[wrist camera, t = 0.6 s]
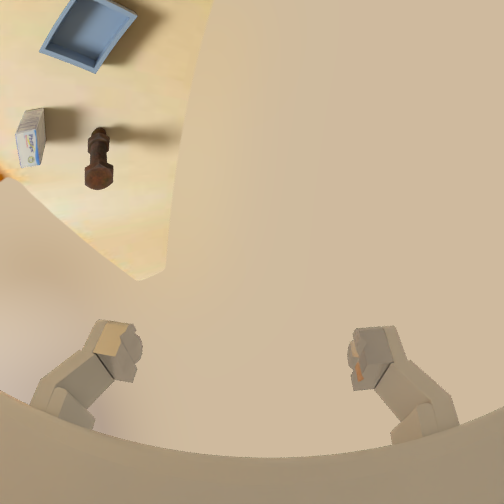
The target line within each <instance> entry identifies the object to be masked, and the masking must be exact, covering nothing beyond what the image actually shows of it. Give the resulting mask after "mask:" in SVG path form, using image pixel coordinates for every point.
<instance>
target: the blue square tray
mask: <svg viewBox="0 0 504 504" xmlns="http://www.w3.org/2000/svg"><path fill="white" fill-rule="evenodd" d="M136 18H137V14H136V12H134V11H132V10H130V9H128V8H126V7H124V6H122V5H120V4H118V3H116V2H114V1H112V0H70V2H69V3H68V4H67V6H66V7H65V9H64V10H63V12H62V13H61V15H60V16H59V18H58V19H57V21H56V23H55V24H54V26H53V28H52V29H51V31H50V33H49V34H48V36H47V38H46V40H45V41H44V43H43V45H42V47H41V49H40V51H39V52H40V53H43V54H46V55H49V56H51V57H54V58H57V59H60V60H62V61H65V62H67V63H70V64H73V65H75V66H78V67H80V68H83V69H85V70H88V71H90V72H92V73H95V74H96V72H97V71H98V69H99V68H100V66H101V65H102V63H103V62H104V60H105V59H106V57H107V56H108V54H109V53H110V51H111V50H112V49H113V47H114V46H115V45H116V43H117V42H118V40H119V39H120V38H121V36H122V35H123V34H124V33H125V31H126V30H127V29H128V27H129V26H130V25H131V24H132V23H133V21H134V20H135V19H136Z"/></svg>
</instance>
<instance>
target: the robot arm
mask: <svg viewBox="0 0 504 504" xmlns="http://www.w3.org/2000/svg"><path fill="white" fill-rule="evenodd" d="M135 331H136V329H135V327H134V325H133V324H128V323H121V322H114V321H108V320H100V319H99V320H98V321H96V323H95V325H94V327H93V329H92V331H91V333H90V335H89V337H88V339H87V341H86V343H85V345H84V347H83V349H82V351H80V350H79V351H77V352H76V353H75V354H73V355H72V356H71V357H69V358H68V359H67V360H65V361H64V362H63V363H61V364H60V365H59V366H58V367H56V368H55V369H54V370H52V371H51V372H50V373H48V374H47V375H46V376H44V377H43V378H42V379H40V382H39V384H38V386H37V388H36V391H35V393H34V395H33V398H32V400H31V403H30V405H28V404H26V403H24V402H22V401H20V400H18V399H16V398H14V397H12V396H10V395H8V394H6V393H5V392H3V391H1V390H0V504H504V407H502V408H500V409H497V410H495V411H493V412H491V413H489V414H486V415H484V416H482V417H479V418H477V419H474V420H472V421H469V422H467V423H464V424H462V425H459V421H458V418H457V414H456V411H455V408H454V404H453V401H452V398H451V396H450V395H449V394H448V393H447V392H446V391H445V390H444V389H443V388H441V387H440V386H439V385H438V384H437V383H436V382H435V381H434V380H432V379H431V378H430V377H429V376H428V375H427V374H426V373H424V371H422V370H421V369H420V368H419V367H418V366H417V365H415V364H414V363H413V362H412V361H411V360H410V361H407V358H406V355H405V352H404V349H403V346H402V344H401V341H400V338H399V335H398V332H397V330H396V328H395V327H394V326H384V327H368V328H357V329H355V330H354V333H353V338H354V340H352V341H351V342H350V344H349V347H348V354H347V355H348V364H349V366H350V367H351V368H352V369H353V372H352V374H351V380H352V385H353V390H354V391H357V390H367V389H374V390H375V391H376V393H377V394H378V395H379V396H380V397H381V399H382V400H383V401H384V402H385V403H386V405H387V406H388V407H389V408H390V409H391V410H392V412H393V413H394V414H395V415H396V417H397V418H398V419H399V420H400V421H401V423H400V424H398V425H397V426H396V427H395V428H394V429H393V430H392V431H391V433H390V434H391V440H392V445H389V446H384V447H379V448H374V449H368V450H362V451H355V452H348V453H341V454H332V455H322V456H309V457H288V458H252V457H251V458H250V457H231V456H230V457H229V456H218V455H208V454H199V453H191V452H184V451H178V450H171V449H166V448H160V447H155V446H150V445H145V444H141V443H137V442H132V441H128V440H125V439H121V438H117V437H113V436H110V435H106V434H103V433H99V432H96V431H93V430H92V429H93V426H94V422H95V418H94V416H93V415H92V414H90V413H89V412H88V411H87V409H88V407H89V406H90V405H91V404H92V403H93V402H94V401H95V400H96V399H97V398H98V397H99V396H100V395H101V394H102V393H103V392H104V391H105V390H106V389H107V388H108V387H109V386H110V385H111V384H112V383H113V382H114V380H119V381H125V382H133V380H134V377H135V374H136V371H137V367H136V365H135V363H137V362H138V361H139V360H140V358H141V355H142V347H143V346H142V341H141V339H140V337H139V336H138V335H136V334H135Z"/></svg>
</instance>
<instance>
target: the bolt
mask: <svg viewBox="0 0 504 504" xmlns="http://www.w3.org/2000/svg"><path fill="white" fill-rule="evenodd" d="M108 151H109V137H108V136H106V132H105V130H104V129H103V128H100V129H99V128H96V129H95V130H94V131H93V132H92V135H91V137H90V138H89V139H88V153H90V165H89V166H87V167H85V185H86V186H87V187H89V188H91V189H94V190H101V189H104V188H106V187H108V186H109V185H110V184H111V183H113V165H111V164H108V163H107V155H106V153H107V152H108Z"/></svg>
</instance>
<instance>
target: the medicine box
mask: <svg viewBox="0 0 504 504" xmlns="http://www.w3.org/2000/svg"><path fill="white" fill-rule="evenodd" d="M15 135H16V142H17V148H18V154H19V160H20V165H21V168H24V167H31V166H36V165H40V164H41V161H42V156H43V152H44V148H45V143H46V134H45V122H44V108H41V109H35V110H30V111H25V112H24V115H23V117H22V119H21V121H20V124H19V126H18V128H17V131H16V133H15Z"/></svg>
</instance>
